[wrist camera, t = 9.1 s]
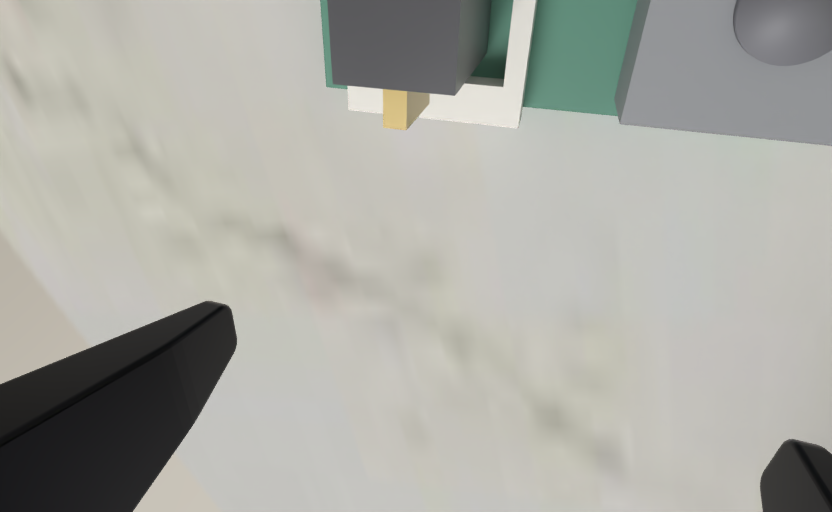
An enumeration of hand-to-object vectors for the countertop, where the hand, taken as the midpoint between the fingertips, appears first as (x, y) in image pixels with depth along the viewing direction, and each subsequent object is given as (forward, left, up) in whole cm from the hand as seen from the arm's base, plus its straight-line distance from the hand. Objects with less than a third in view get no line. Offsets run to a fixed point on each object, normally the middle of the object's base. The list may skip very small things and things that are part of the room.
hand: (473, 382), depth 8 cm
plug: (+3, -5, -11) cm, 12 cm away
